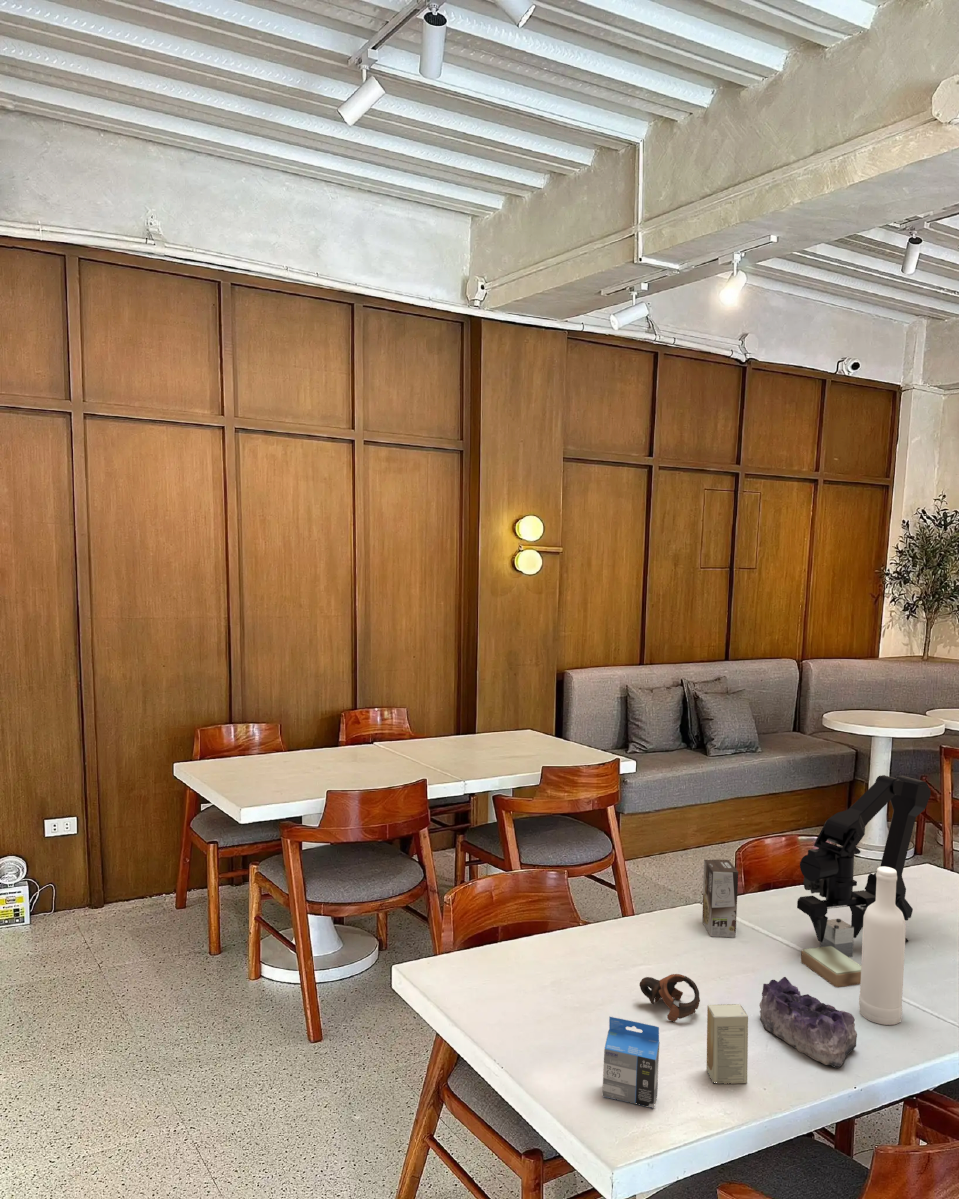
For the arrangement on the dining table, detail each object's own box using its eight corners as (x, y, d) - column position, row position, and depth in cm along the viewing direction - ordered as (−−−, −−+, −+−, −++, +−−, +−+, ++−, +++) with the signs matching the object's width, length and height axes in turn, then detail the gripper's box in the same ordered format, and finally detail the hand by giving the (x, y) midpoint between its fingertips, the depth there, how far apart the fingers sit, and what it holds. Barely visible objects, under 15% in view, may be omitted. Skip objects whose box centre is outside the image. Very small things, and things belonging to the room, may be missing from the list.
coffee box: (736, 937, 213) (739, 872, 212) (710, 937, 213) (712, 871, 212) (727, 922, 222) (729, 858, 221) (701, 921, 222) (703, 858, 221)
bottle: (883, 1029, 173) (890, 878, 171) (849, 1010, 180) (856, 865, 178) (910, 1020, 176) (917, 872, 175) (876, 1002, 183) (883, 860, 182)
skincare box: (739, 1069, 158) (742, 1003, 157) (747, 1084, 154) (750, 1016, 153) (704, 1069, 158) (706, 1003, 157) (711, 1084, 154) (713, 1016, 153)
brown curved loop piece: (693, 1001, 183) (705, 977, 179) (689, 1042, 175) (701, 1018, 171) (637, 980, 185) (647, 956, 181) (630, 1019, 177) (640, 995, 173)
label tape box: (601, 1097, 149) (603, 1026, 149) (606, 1084, 153) (609, 1015, 152) (653, 1110, 146) (656, 1038, 145) (658, 1096, 150) (660, 1025, 149)
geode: (738, 1026, 173) (743, 974, 174) (776, 1017, 180) (780, 967, 180) (830, 1074, 156) (835, 1016, 157) (868, 1062, 163) (873, 1007, 163)
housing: (838, 947, 209) (839, 917, 208) (852, 957, 204) (854, 926, 204) (820, 949, 207) (821, 919, 207) (834, 959, 203) (835, 928, 202)
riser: (830, 958, 203) (831, 945, 203) (867, 983, 192) (868, 969, 191) (801, 962, 201) (801, 949, 201) (836, 987, 189) (836, 973, 189)
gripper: (850, 858, 215) (847, 921, 216) (784, 864, 210) (781, 929, 211) (883, 875, 204) (879, 941, 205) (814, 881, 199) (811, 949, 200)
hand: (837, 939), depth 206 cm, fingers open, 9 cm apart
